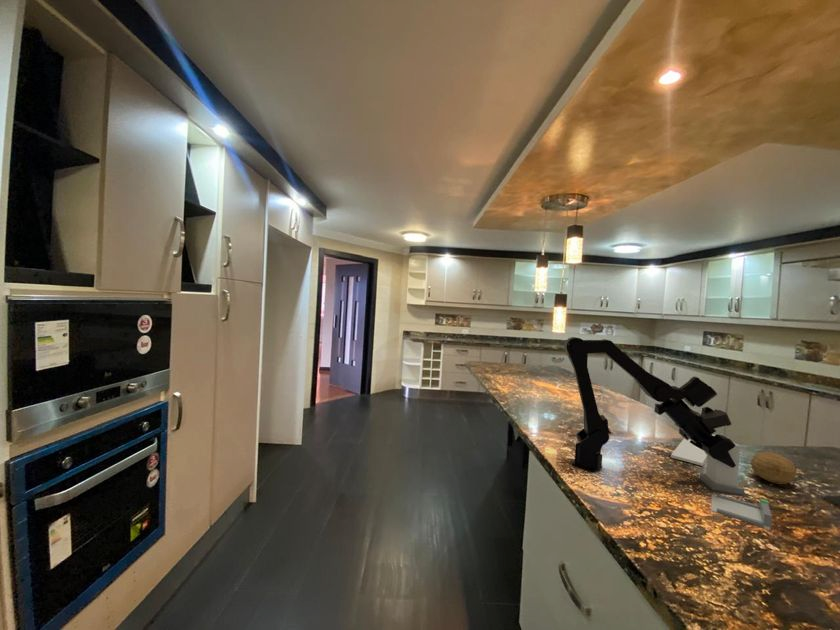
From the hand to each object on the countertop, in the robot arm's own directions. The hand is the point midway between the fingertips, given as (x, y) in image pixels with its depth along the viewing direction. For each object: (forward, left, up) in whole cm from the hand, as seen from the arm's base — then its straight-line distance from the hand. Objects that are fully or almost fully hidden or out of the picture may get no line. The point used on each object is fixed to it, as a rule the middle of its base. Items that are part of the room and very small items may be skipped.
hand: (728, 462), depth 97 cm
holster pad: (-1, -1, -7) cm, 7 cm away
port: (+5, -14, -7) cm, 16 cm away
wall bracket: (-13, +26, -8) cm, 30 cm away
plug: (-1, -1, -7) cm, 7 cm away
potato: (+6, +20, -7) cm, 22 cm away
